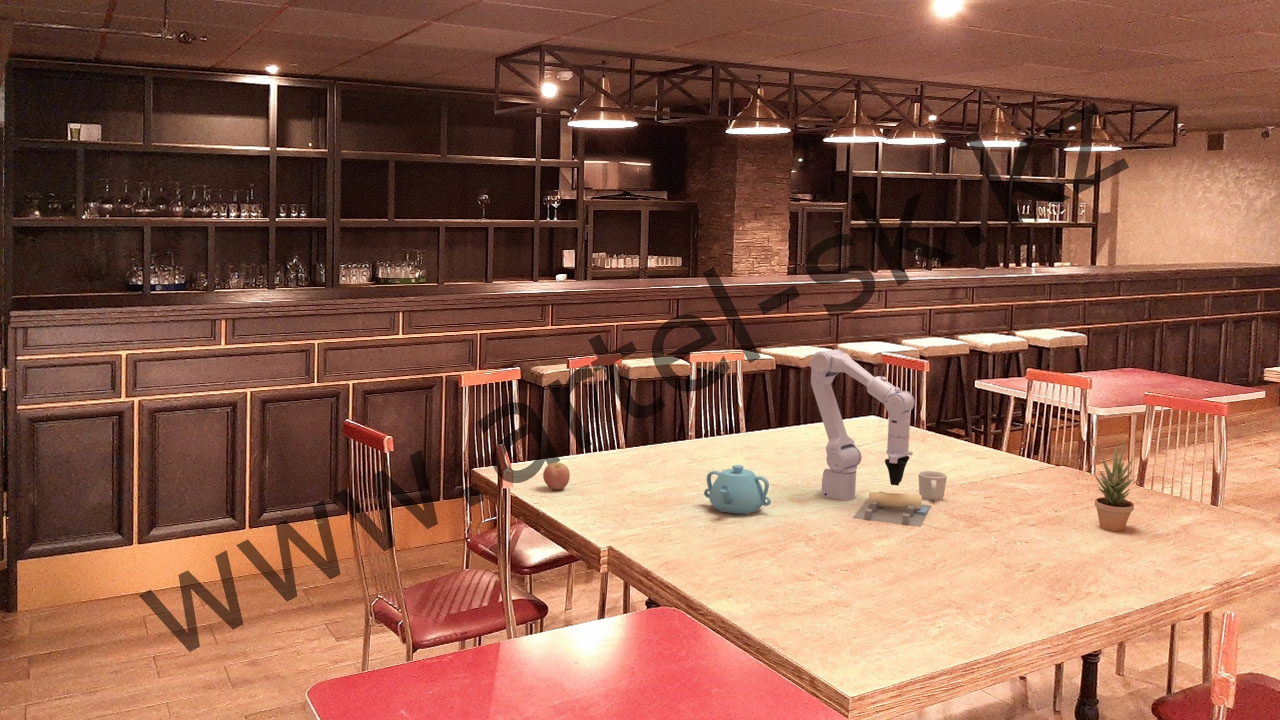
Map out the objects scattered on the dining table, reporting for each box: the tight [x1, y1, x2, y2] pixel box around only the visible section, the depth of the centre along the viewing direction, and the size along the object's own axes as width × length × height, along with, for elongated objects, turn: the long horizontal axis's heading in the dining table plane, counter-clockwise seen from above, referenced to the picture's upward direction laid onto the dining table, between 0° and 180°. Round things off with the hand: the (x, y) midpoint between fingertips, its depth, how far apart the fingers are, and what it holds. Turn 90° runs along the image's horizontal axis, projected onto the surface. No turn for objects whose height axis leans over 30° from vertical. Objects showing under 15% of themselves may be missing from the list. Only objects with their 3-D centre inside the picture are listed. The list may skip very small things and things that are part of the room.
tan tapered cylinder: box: [867, 491, 923, 509], centre depth 287 cm, size 14×4×4 cm, turn 67°
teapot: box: [703, 464, 772, 516], centre depth 285 cm, size 20×20×13 cm
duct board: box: [852, 491, 932, 528], centre depth 285 cm, size 18×22×3 cm
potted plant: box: [1094, 438, 1135, 532], centre depth 275 cm, size 10×10×25 cm
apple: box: [542, 462, 571, 491], centre depth 306 cm, size 8×8×8 cm
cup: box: [918, 470, 948, 502], centre depth 299 cm, size 11×8×8 cm
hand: (896, 483), depth 287 cm, fingers open, 4 cm apart
